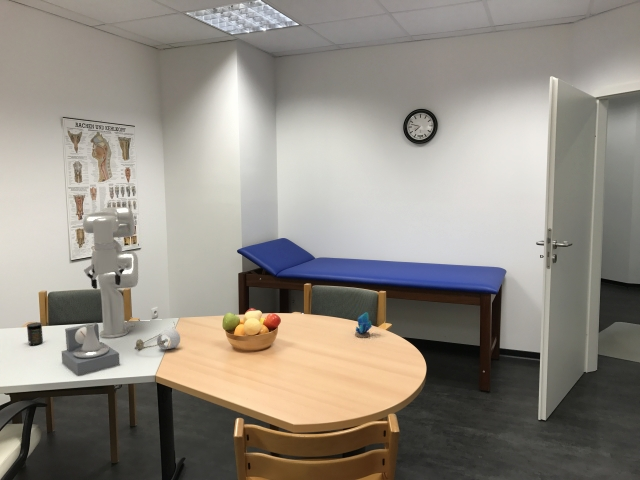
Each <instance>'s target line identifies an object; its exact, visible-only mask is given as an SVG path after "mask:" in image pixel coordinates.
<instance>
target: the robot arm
mask: <svg viewBox="0 0 640 480" xmlns="http://www.w3.org/2000/svg"><path fill="white" fill-rule="evenodd" d="M82 227H83V230H84V232H85V233H87V234H93V243H94V245H93V246H94V250H92V252H91V258H90V259H91V260H90V261H91V263H90V264H91V265H89V266H88V267H86V268H84V269H83V273H84V274H85V275H86V277H88V278H89V279H90V282H91V283H90V284H91V288H93V289H95V290H96V289H98V285H99V288H100V298H101V310H102V311H101V312H102V314H101V315H102V329H103V330H102V331H99V337H101V338H103V339H105V338H106V339H115V338H120V337H124V336H126V335H128V334H129V328H134V327H135V326H136V323H135V322H132V323H131V322H125V309H124V308H125V307H124V306H125V304H124V296H123V294H122V293H121V292H120V291H119V290H120V289H129V288H130V289H132V288H135V287H136V286H137V285H138V282H139V257H138V255H137V254H136V253H135V252H134V251H130V250H129V251H127V250H126V251H123V247H122V245H121V244H120V243H119V242H118V241H117V240H116V238H130V237H133V236H134V235H135V233H136V225H135V218H134V213H133V211H132V209H131V208H130V207H127V206H118V207H117V206H109V207H108V206H107V207H106V208H104V209H102V211H97V212H92V213H88V214H86V215H85V216H84V218H83V222H82ZM114 238H115V239H114ZM90 271H91V273H90ZM96 278H97V279H96Z"/></svg>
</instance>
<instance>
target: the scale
mask: <svg viewBox="0 0 640 480" xmlns="http://www.w3.org/2000/svg"><path fill="white" fill-rule="evenodd" d="M89 324H93V325H95V326H94V331H95V334H96V337H97V339H98V341H99V343H100V344H103V345H107V344H105V343H104V342H102V341H100V330H99V329H100V327H99V323H98V322H92V323H87V324H82V325H77V326H72V327H67V328H65V329H64V330H65V346H66V349H65V350H61V361H62V365H64V366H65V367H66V368H68V369H69V370H70V371H72V372H73V374H75V375H76V376H77V377H79V376H83V375H87V374H90V373H96V372H99V371H102V370H105V369H109V368H113V367H117V366H120V365H121V364H120V352H118V351H116V350H115V349H113V348H112V347H110V346H109V345H107V346H108V347H109V351H108V352H107V353H106V354H104V355H101V356H97V357H92V358H77V357H75V356H74V355H73V351H74V350H75V349H77V348H79V347H82V346H83V343H84V340H85V337H86V327H85V326H86V325H89Z"/></svg>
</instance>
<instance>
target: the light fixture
mask: <svg viewBox="0 0 640 480" xmlns="http://www.w3.org/2000/svg"><path fill="white" fill-rule="evenodd" d="M173 324H174V326H173V327H167V328H165V329H163V330H162V332H161V333H159V334H158V335H155V336H154V337H151V338H149V339H147V340H145V341H143V340H142V339H141V338H139V339H137V340H136V342H135V345H136V346H135V347H134V349H135V350H139V351H141V350H143V349H147V348H152V347H156V346H158V347H159V348H160V349H161V350H171V349H175V348H177V347H178V346H179V345H180V343H181V335H180V333H179V331H178V330H177V329H175V325H176V324H175V322H173ZM162 335H164V336H166V337H168V338H164V339H163V340H162ZM154 338H156V344H153V345H148V346H144V345H145V343H147V342H149V341H151V340H153V339H154ZM169 340H170V343H169V344H168V342H169ZM166 344H167V345H168V346H166Z"/></svg>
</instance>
